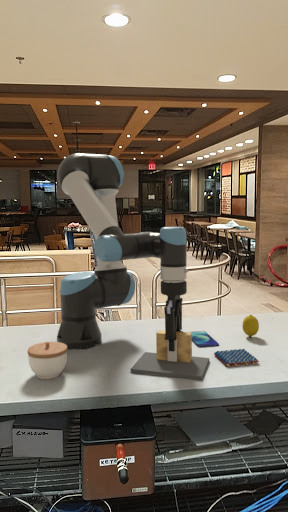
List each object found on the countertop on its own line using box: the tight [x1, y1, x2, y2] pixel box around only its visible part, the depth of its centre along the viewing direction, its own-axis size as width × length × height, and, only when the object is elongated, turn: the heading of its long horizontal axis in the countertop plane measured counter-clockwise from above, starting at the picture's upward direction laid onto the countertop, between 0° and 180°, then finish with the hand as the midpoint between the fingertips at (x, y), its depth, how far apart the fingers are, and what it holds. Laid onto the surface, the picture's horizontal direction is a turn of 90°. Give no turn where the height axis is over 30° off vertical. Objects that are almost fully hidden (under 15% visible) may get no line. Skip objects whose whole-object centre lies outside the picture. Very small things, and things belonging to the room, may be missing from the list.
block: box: [155, 329, 193, 363], centre depth 125 cm, size 10×3×8 cm, turn 73°
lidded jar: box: [27, 341, 68, 380], centre depth 118 cm, size 11×11×9 cm
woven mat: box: [213, 348, 260, 368], centre depth 128 cm, size 10×11×2 cm
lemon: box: [241, 314, 260, 338], centre depth 148 cm, size 6×6×8 cm
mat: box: [130, 351, 210, 381], centre depth 123 cm, size 20×14×1 cm
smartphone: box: [188, 330, 220, 348], centre depth 147 cm, size 8×1×15 cm
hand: (174, 358), depth 126 cm, fingers open, 4 cm apart
